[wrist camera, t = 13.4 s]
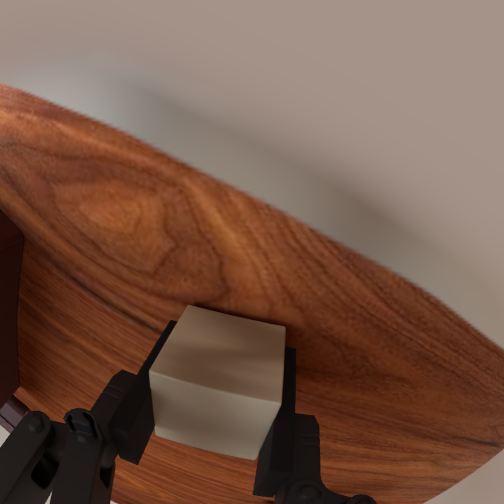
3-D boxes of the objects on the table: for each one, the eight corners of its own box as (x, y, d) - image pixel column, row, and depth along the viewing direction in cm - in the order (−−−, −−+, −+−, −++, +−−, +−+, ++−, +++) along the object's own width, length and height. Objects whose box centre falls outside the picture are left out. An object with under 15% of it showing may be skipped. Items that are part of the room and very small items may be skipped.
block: (286, 326, 13) (282, 404, 9) (265, 390, 15) (255, 460, 10) (187, 303, 13) (148, 371, 9) (183, 371, 15) (154, 435, 11)
